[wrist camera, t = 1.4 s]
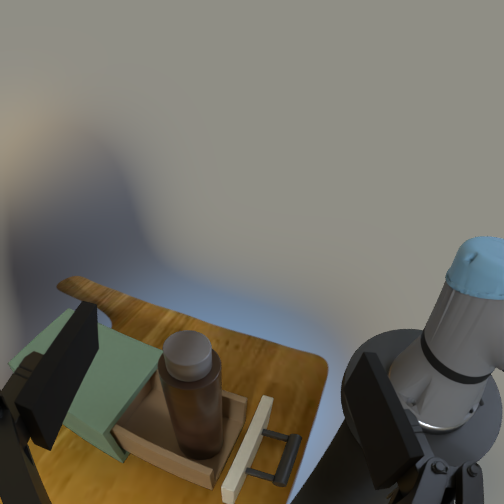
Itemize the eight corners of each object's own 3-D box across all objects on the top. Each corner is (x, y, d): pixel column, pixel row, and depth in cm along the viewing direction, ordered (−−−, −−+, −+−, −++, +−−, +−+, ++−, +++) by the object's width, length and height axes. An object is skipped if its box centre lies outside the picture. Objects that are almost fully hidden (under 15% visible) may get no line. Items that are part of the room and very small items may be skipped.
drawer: (302, 432, 33) (312, 407, 30) (272, 517, 23) (280, 505, 20) (154, 382, 38) (147, 353, 35) (107, 447, 28) (90, 423, 25)
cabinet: (173, 390, 38) (165, 351, 34) (123, 463, 28) (102, 434, 24) (82, 346, 43) (68, 307, 39) (31, 399, 32) (7, 363, 28)
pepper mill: (229, 431, 31) (231, 335, 24) (212, 466, 27) (202, 382, 19) (189, 416, 33) (174, 316, 25) (170, 449, 29) (140, 357, 21)
